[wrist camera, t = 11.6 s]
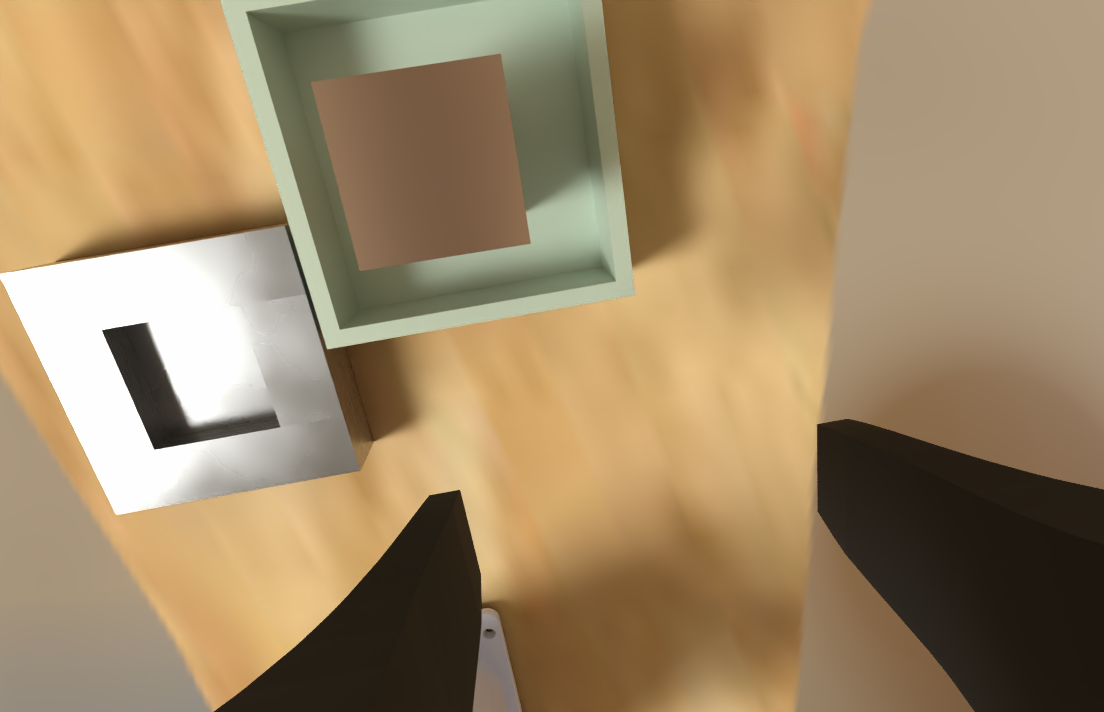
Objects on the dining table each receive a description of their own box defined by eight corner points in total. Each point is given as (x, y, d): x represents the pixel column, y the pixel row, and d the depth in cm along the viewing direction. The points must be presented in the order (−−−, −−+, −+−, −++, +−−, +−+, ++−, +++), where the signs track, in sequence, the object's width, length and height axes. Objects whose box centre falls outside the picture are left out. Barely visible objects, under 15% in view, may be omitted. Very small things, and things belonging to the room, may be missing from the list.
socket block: (373, 442, 21) (360, 470, 19) (152, 482, 20) (116, 514, 19) (307, 219, 18) (284, 225, 16) (52, 262, 18) (-1, 274, 16)
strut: (501, 97, 17) (501, 53, 10) (520, 214, 18) (530, 243, 11) (386, 114, 17) (310, 82, 10) (413, 231, 18) (360, 271, 11)
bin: (616, 275, 19) (635, 295, 17) (353, 321, 19) (327, 349, 16) (577, -30, 16) (593, -69, 14) (267, 21, 16) (217, -10, 13)
